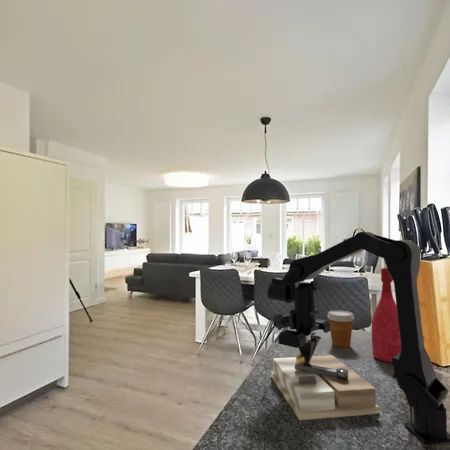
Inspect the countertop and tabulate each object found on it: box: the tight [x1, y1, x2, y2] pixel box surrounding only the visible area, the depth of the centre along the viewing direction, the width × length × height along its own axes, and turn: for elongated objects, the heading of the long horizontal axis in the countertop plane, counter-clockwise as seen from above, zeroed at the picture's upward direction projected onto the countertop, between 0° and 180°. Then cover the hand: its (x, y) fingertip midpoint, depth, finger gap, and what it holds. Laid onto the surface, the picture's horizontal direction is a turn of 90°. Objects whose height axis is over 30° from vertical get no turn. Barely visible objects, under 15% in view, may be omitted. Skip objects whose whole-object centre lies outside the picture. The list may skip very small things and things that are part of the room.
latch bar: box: [295, 353, 348, 380], centre depth 85 cm, size 13×3×4 cm, turn 61°
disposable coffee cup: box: [326, 310, 355, 349], centre depth 124 cm, size 10×10×12 cm
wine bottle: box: [371, 267, 401, 364], centre depth 111 cm, size 10×10×30 cm
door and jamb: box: [270, 354, 380, 421], centre depth 86 cm, size 23×19×7 cm
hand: (306, 364), depth 89 cm, fingers closed
